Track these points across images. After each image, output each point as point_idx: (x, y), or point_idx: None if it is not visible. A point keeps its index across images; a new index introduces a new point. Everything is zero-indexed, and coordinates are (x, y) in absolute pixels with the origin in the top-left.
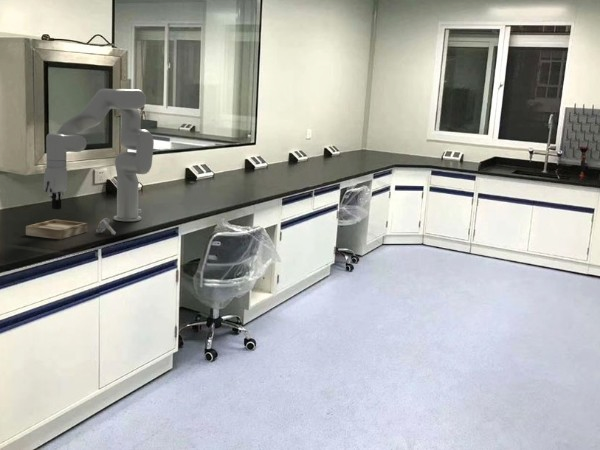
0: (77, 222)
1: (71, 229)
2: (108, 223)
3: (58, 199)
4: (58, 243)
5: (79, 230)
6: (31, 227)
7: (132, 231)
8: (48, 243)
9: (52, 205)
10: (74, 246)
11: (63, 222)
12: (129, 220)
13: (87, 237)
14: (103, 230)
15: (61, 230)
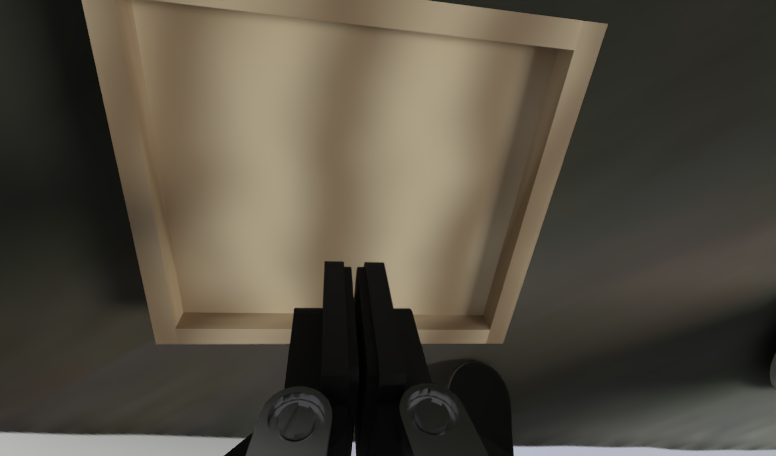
0: (507, 282)
1: None
2: (505, 446)
3: (371, 448)
4: (78, 343)
5: None
6: (97, 47)
7: (560, 443)
8: (27, 301)
9: (324, 294)
10: (86, 430)
11: (536, 149)
12: (774, 382)
13: None
14: (494, 382)
15: (172, 341)
